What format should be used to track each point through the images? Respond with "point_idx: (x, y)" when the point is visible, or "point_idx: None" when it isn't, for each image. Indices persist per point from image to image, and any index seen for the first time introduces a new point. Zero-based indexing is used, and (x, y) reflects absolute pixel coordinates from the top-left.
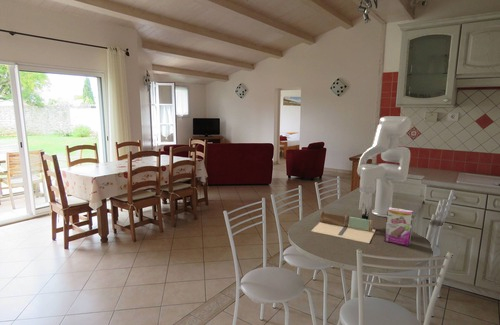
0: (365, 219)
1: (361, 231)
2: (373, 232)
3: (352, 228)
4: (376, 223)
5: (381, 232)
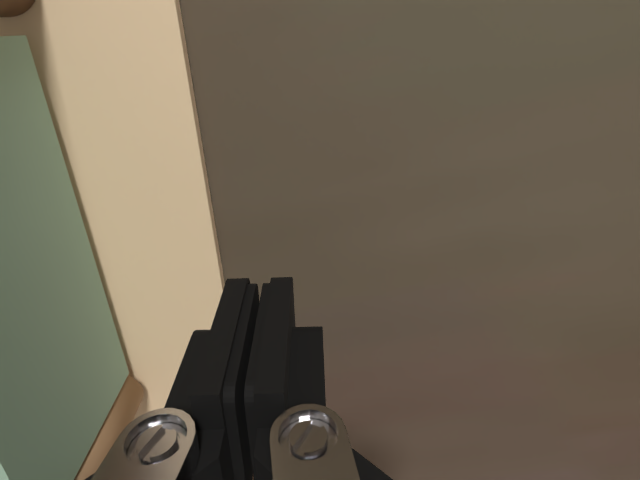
0: (1, 476)
1: None
2: None
3: None
4: (542, 370)
5: None
